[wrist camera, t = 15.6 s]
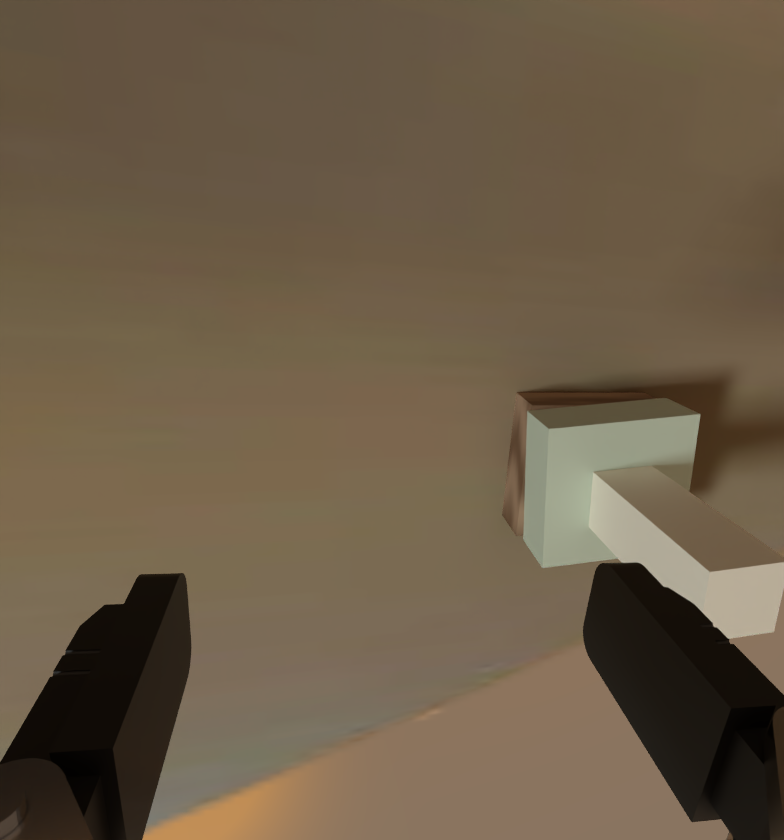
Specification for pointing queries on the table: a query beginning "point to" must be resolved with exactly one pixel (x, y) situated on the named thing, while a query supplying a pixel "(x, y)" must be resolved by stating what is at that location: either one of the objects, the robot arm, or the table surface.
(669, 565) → the cream post
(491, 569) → the table surface
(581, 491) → the sage block
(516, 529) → the walnut block
